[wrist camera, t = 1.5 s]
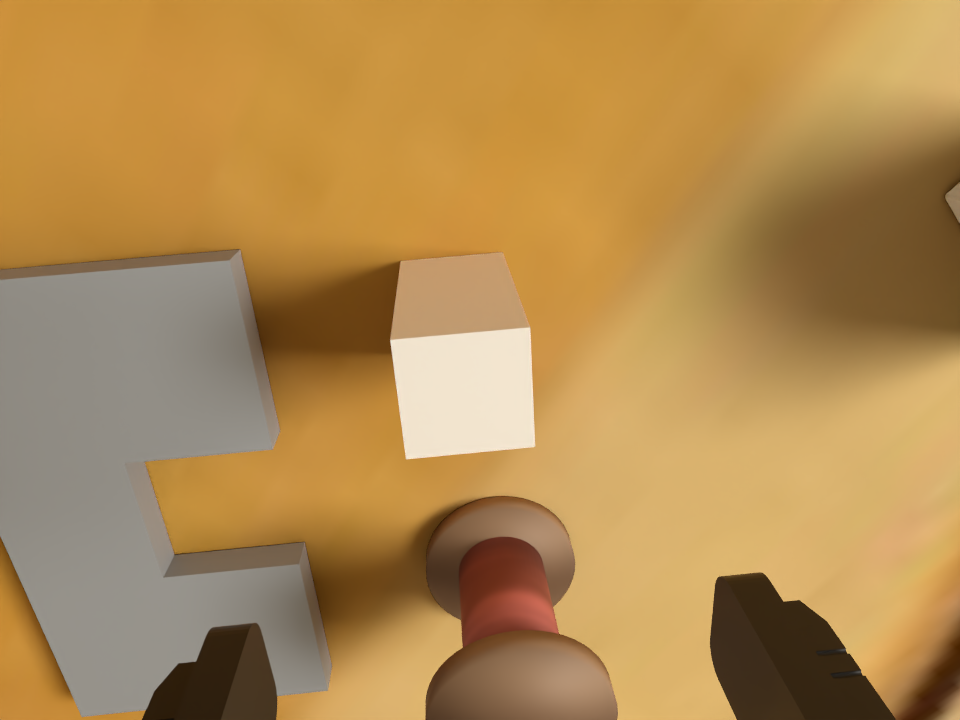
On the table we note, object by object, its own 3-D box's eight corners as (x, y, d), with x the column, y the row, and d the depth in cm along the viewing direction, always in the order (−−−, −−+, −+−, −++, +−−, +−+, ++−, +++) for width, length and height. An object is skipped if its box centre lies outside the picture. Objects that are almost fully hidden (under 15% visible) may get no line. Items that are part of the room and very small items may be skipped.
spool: (419, 504, 31) (415, 664, 23) (570, 489, 32) (619, 642, 23) (433, 618, 34) (435, 796, 26) (571, 604, 34) (616, 776, 26)
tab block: (400, 261, 27) (390, 339, 19) (502, 252, 27) (530, 327, 19) (411, 354, 28) (406, 459, 21) (507, 345, 28) (535, 446, 21)
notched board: (-83, 276, 26) (-112, 289, 24) (240, 249, 26) (229, 260, 25) (95, 690, 35) (81, 716, 33) (331, 665, 35) (328, 690, 34)
